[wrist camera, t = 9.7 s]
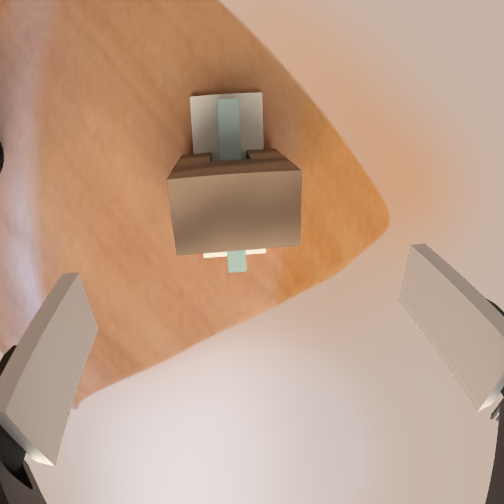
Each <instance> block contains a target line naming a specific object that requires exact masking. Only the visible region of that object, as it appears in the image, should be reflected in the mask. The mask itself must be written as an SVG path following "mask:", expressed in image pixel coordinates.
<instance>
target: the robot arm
mask: <svg viewBox="0 0 504 504" xmlns="http://www.w3.org/2000/svg"><path fill="white" fill-rule="evenodd" d="M399 301H400V303H401V304H402V305H403V307H404V308H405V309H406V310H407V312H408V313H409V314H410V316H411V317H412V318H413V320H414V321H415V322H416V324H417V325H418V326H419V328H420V329H421V330H422V332H423V333H424V334H425V336H426V337H427V338H428V340H429V341H430V342H431V344H432V345H433V346H434V348H435V349H436V351H437V352H438V353H439V355H440V356H441V358H442V359H443V360H444V362H445V363H446V365H447V366H448V368H449V369H450V370H451V372H452V373H453V375H454V376H455V378H456V379H457V381H458V382H459V384H460V385H461V387H462V388H463V390H464V391H465V393H466V394H467V396H468V397H469V398H470V400H471V402H472V403H473V405H474V406H475V408H476V409H477V411H480V410H481V409H483V408H485V407H487V406H489V405H491V404H492V403H493V402H494V401H495V399H496V398H497V396H498V395H499V393H500V392H501V393H502V395H503V396H504V312H503V311H502V310H501V309H500V308H499V307H498V306H497V305H496V304H494V303H493V302H491V301H489V300H488V299H486V298H485V297H484V296H483V295H482V294H481V293H479V292H478V291H477V290H476V289H475V288H474V287H473V286H472V285H471V284H470V283H469V282H468V281H467V280H466V279H465V278H463V277H462V276H461V275H460V274H459V273H458V272H457V271H456V270H454V268H452V267H451V266H450V265H449V264H448V263H447V262H446V261H445V260H443V259H442V258H441V257H440V256H439V255H438V254H436V253H435V252H434V251H433V250H432V249H431V248H429V247H428V246H427V245H426V244H417V245H411V246H410V252H409V257H408V262H407V266H406V271H405V275H404V280H403V284H402V289H401V293H400V297H399ZM98 329H99V328H98V326H97V323H96V320H95V318H94V315H93V312H92V309H91V307H90V304H89V301H88V298H87V295H86V292H85V289H84V286H83V283H82V280H81V277H80V274H79V273H68V274H63V275H62V276H61V277H60V279H59V280H58V282H57V283H56V285H55V286H54V288H53V289H52V290H51V292H50V293H49V295H48V296H47V298H46V299H45V301H44V303H43V304H42V306H41V307H40V309H39V310H38V312H37V313H36V315H35V317H34V318H33V320H32V321H31V323H30V325H29V326H28V328H27V330H26V331H25V333H24V335H23V336H22V338H21V340H20V342H19V343H18V345H17V346H16V345H14V346H13V347H12V348H11V349H10V350H9V351H8V352H7V353H6V354H5V355H4V356H3V358H2V360H1V362H0V504H47V503H46V502H45V500H44V498H43V496H42V494H41V492H40V490H39V487H38V485H37V483H36V481H35V479H34V477H33V475H32V473H31V470H30V468H29V466H28V464H27V463H26V461H25V460H24V457H25V454H26V453H27V454H28V455H29V456H30V457H31V458H32V459H33V460H35V461H36V462H39V463H43V464H48V465H52V466H55V464H56V460H57V456H58V452H59V448H60V444H61V441H62V437H63V433H64V430H65V426H66V423H67V419H68V416H69V413H70V409H71V406H72V403H73V400H74V397H75V394H76V390H77V387H78V384H79V381H80V378H81V376H82V373H83V370H84V367H85V364H86V361H87V359H88V356H89V353H90V350H91V348H92V345H93V342H94V340H95V337H96V335H97V332H98ZM498 412H500V415H499V416H498V417H497V419H496V420H497V421H499V426H498V436H497V444H496V452H495V459H494V465H493V471H492V476H491V481H490V486H489V491H488V495H487V499H486V503H485V504H504V398H503V400H502V401H501V402H500V404H499V405H498V406H497V408H496V409H495V410H494V412H493V413H492V415H491V418H490V419H493V418H494V417H495V416H496V414H497V413H498Z"/></svg>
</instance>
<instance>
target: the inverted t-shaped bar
mask: <svg viewBox="0 0 504 504" xmlns="http://www.w3.org/2000/svg"><path fill="white" fill-rule="evenodd" d="M190 110H191V125H192V139H193V152H194V154H197V153H209V152H211V161H212V162H214V161H227V160H242V159H246V150H255V149H264V139H263V107H262V92H258V93H232V94H216V95H203V96H192V97H190ZM260 253H266V248H265V249H252V250H240V251H228V252H215V253H203V254H204V258H211V257H224V256H227V258H228V269H229V273H232V272H244V271H247V269H246V255H248V254H260Z"/></svg>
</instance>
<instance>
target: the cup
mask: <svg viewBox="0 0 504 504" xmlns="http://www.w3.org/2000/svg"><path fill="white" fill-rule="evenodd" d="M3 161H4V154H3V148H2V145H1V143H0V172H1V170H2V167H3Z"/></svg>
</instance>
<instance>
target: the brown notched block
mask: <svg viewBox="0 0 504 504" xmlns="http://www.w3.org/2000/svg"><path fill="white" fill-rule="evenodd" d="M301 181H302V170H300V169H299V168H298V167H297V166H296V165H294V164H293V163H292V162H291V161H290V160H288V159H287V158H286V157H285V156H283V155H282V154H281V153H280V152H279V151H277V150H276V149H255V150H246V159H242V160H227V161H214V162H212V161H211V152H209V153H197V154H187V155H181V157H180V159H179V160H178V162H177V164H176V165H175V167H174V168H173V170H172V172H171V173H170V175H169V177H168V178H167V187H168V195H169V203H170V211H171V218H172V226H173V233H174V239H175V246H176V253H177V256H178V255H191V254H203V253H215V252H228V251H240V250H252V249H265V248H277V247H290V246H300V231H301Z"/></svg>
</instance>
